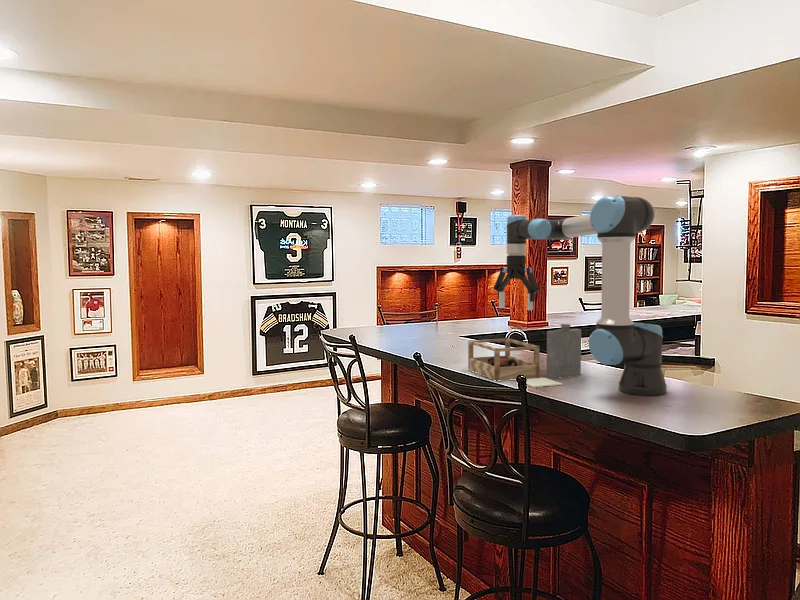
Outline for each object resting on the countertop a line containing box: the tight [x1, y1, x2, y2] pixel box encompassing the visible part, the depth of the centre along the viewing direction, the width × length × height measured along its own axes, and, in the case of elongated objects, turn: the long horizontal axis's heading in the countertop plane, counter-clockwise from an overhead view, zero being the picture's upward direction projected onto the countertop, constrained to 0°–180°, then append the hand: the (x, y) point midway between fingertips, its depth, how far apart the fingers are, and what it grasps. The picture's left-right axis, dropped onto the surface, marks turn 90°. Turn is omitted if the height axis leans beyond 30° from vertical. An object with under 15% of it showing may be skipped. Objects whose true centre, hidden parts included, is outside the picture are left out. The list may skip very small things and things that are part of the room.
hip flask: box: [546, 323, 582, 379], centre depth 234 cm, size 16×4×20 cm, turn 118°
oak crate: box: [467, 337, 540, 382], centre depth 239 cm, size 24×18×12 cm
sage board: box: [526, 376, 564, 389], centre depth 222 cm, size 12×12×1 cm
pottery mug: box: [487, 355, 518, 367], centre depth 240 cm, size 12×10×8 cm
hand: (515, 309), depth 243 cm, fingers open, 13 cm apart
